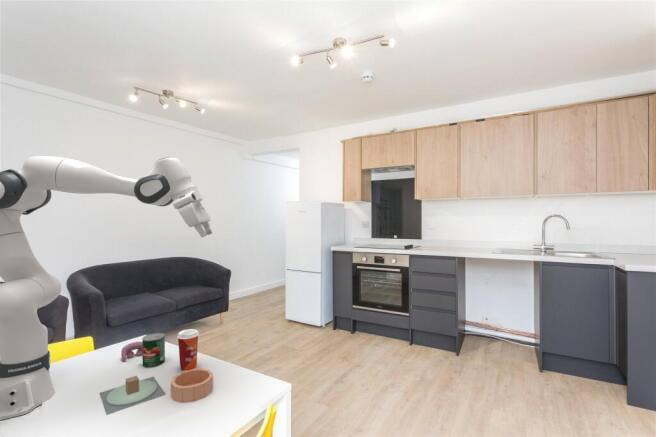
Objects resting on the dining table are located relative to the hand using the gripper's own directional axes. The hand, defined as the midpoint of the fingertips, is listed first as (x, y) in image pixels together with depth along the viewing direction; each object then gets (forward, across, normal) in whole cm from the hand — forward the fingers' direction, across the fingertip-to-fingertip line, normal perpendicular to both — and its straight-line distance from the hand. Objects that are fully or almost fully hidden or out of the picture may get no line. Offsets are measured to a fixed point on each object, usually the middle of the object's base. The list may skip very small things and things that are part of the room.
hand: (207, 235), depth 114 cm
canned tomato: (+36, -16, -45) cm, 60 cm away
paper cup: (+42, -9, -32) cm, 54 cm away
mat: (+36, +7, -43) cm, 57 cm away
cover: (+35, +7, -43) cm, 56 cm away
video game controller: (+32, -24, -54) cm, 67 cm away
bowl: (+44, +9, -26) cm, 52 cm away
